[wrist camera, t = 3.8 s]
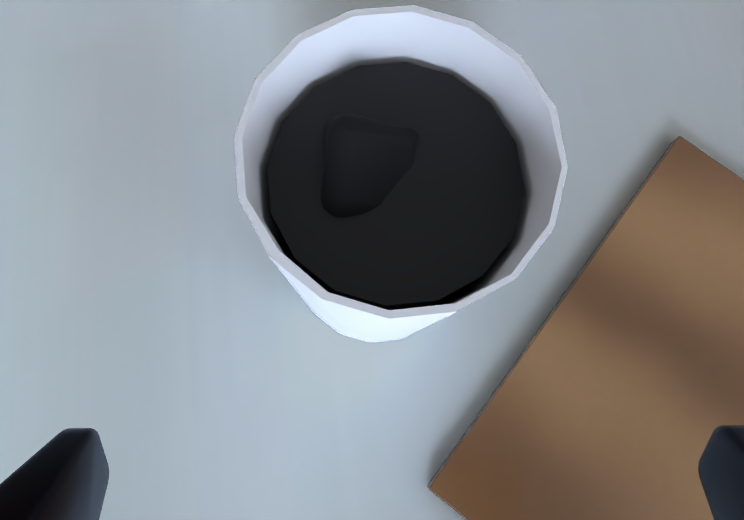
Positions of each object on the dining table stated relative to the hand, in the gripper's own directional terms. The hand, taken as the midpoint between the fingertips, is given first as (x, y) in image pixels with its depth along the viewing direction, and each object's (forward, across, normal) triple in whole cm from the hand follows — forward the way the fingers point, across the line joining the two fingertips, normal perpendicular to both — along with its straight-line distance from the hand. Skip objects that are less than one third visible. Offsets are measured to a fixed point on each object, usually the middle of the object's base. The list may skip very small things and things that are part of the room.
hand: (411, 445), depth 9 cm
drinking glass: (+12, 0, +5) cm, 13 cm away
